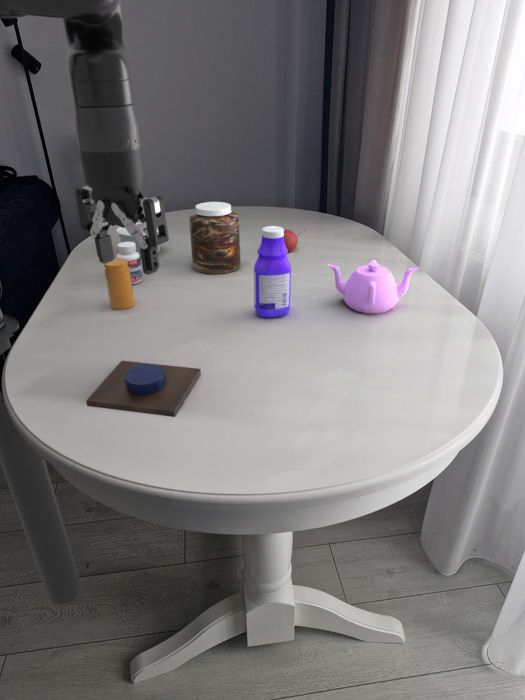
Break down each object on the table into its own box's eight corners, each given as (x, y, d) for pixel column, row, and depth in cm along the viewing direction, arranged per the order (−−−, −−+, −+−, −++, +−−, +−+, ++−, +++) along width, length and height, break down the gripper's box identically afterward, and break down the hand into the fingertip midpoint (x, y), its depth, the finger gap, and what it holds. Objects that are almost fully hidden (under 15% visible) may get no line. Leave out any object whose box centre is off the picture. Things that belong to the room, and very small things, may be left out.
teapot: (413, 307, 106) (419, 266, 101) (361, 323, 100) (364, 280, 95) (375, 288, 115) (379, 249, 110) (324, 301, 109) (326, 261, 104)
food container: (172, 253, 137) (170, 229, 134) (130, 262, 131) (126, 237, 128) (154, 242, 146) (151, 219, 142) (113, 250, 140) (109, 226, 137)
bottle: (286, 305, 107) (287, 223, 99) (293, 316, 102) (294, 231, 94) (252, 308, 106) (250, 225, 97) (257, 320, 101) (256, 234, 92)
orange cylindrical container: (106, 308, 107) (98, 265, 102) (117, 299, 111) (110, 256, 106) (128, 310, 106) (121, 266, 101) (138, 301, 110) (132, 258, 105)
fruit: (295, 260, 137) (310, 233, 135) (277, 251, 135) (292, 224, 132) (287, 252, 142) (302, 226, 140) (270, 244, 140) (284, 218, 137)
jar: (233, 256, 135) (231, 198, 127) (245, 271, 125) (244, 209, 117) (189, 261, 131) (184, 202, 124) (198, 277, 122) (193, 214, 114)
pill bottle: (132, 286, 117) (126, 249, 113) (115, 282, 120) (109, 245, 115) (147, 279, 121) (142, 242, 117) (131, 275, 124) (125, 239, 119)
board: (86, 406, 77) (85, 400, 76) (122, 365, 87) (121, 360, 86) (175, 417, 74) (174, 411, 74) (201, 373, 84) (200, 368, 84)
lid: (173, 380, 81) (172, 370, 80) (146, 399, 76) (145, 389, 76) (145, 370, 84) (143, 360, 83) (118, 387, 79) (116, 377, 78)
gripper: (173, 144, 63) (184, 268, 72) (93, 137, 70) (112, 250, 78) (129, 153, 58) (147, 286, 66) (47, 144, 65) (73, 266, 73)
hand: (128, 267), depth 72 cm, fingers open, 8 cm apart
